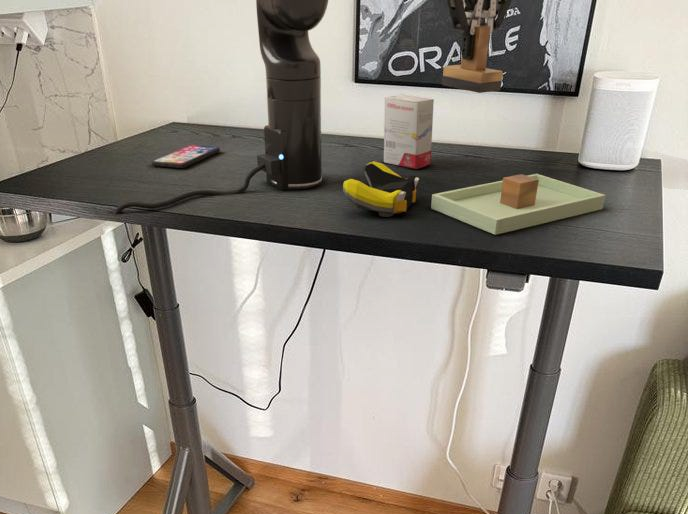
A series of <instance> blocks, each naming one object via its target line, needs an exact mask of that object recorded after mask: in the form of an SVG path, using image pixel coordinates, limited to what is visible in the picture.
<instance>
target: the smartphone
mask: <svg viewBox="0 0 688 514" xmlns="http://www.w3.org/2000/svg"><path fill="white" fill-rule="evenodd" d="M220 151H221V149H220V147H219V146H211V145H210V146H209V145H197V144H189V145H185V146H184V147H181V148H178V149H177V150H174V151H172V152H169V153H167V154H165V155H162V156H159V157H158V158H155V159H153V160H151V165H152V166H153V167H165V168H175V169H185V168H187V167H188V166H192V165H193V164H195V163H197V162H200V161H202V160H204V159H207V158H209V157H211V156H213V155H215V154H217V153H219V152H220Z"/></svg>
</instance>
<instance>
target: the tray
mask: <svg viewBox="0 0 688 514" xmlns="http://www.w3.org/2000/svg"><path fill="white" fill-rule="evenodd" d="M526 176H529V177H532V178H535V179H538V180H539V182H538V188H537V194H536V200H535V205H533V206H528V207H524V208H519V209H515V208H513V207H510V206H507V205H504V204H502V203H500V198H501V191H502V184H503V179H502V180H499V181H493V182H488V183H483V184H478V185H472V186H468V187H463V188H462V187H461V188H458V189H453V190H447V191H442V192H438V193H437V192H436V193H433V194H431V203H430V209H431V210H433V211H437V212H438V213H441V214H444V215H446V216H448V217H451V218H453V219H455V220H458V221H460V222H463V223H465V224H467V225H471V226H472V227H475V228H477V229H480V230H483V231H485V232H487V233H490V234H492V235H495V236H496V235H501V234H504V233H509V232H514V231H517V230H521V229H525V228H530V227H535V226H539V225H543V224H547V223H551V222H555V221H559V220H564V219H568V218H571V217H576V216H579V215H584V214H589V213H592V212H593V213H594V212H597V211H600V210H603V208H604V204H605V199H606V194H603V193H600V192H597V191H594V190H590V189H587V188H584V187H581V186H578V185H574V184H571V183H568V182H565V181H562V180H558V179H554V178H552V177H549V176H546V175H542V174H539V173H533V174H528V175H526Z"/></svg>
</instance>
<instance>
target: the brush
mask: <svg viewBox="0 0 688 514" xmlns="http://www.w3.org/2000/svg"><path fill="white" fill-rule="evenodd" d="M474 35H476V38H475V47H474V56H473V59H472V60H465V59H463V58H462V56H461V58H460V64H453V65H444V66H443V71H442V72H443V73H442V84H441V85H442V86H446V87H450V88H455V89H459V90H465V91H469V92H473V93H477V94H478V93H479V94H483V93H490V92H499V91H501V89H502V82H503V75H504V74H503V73H504V71H503V70H498V69H494V68H487V59H488V53H489V49H488V44H489V45H490V41H489V35H490V36H491V34H490V26H484V25H478V24H477V27H476V32H475V34H474ZM487 52H488V53H487Z"/></svg>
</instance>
